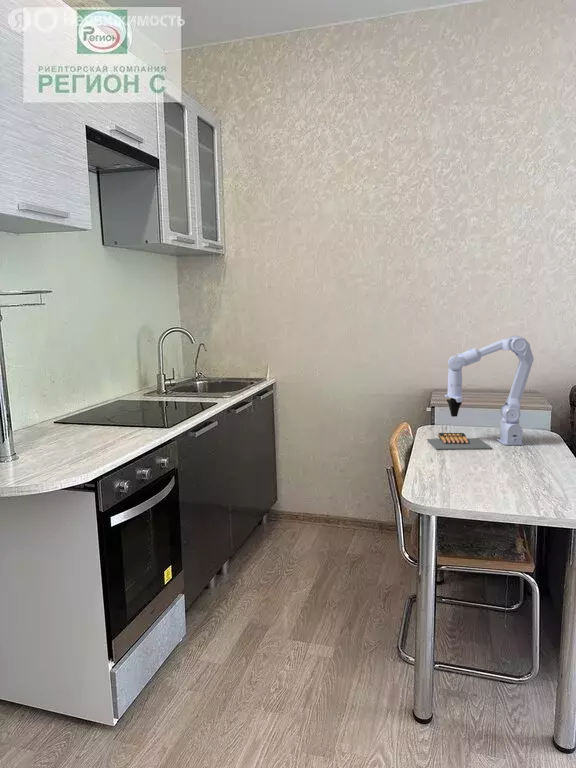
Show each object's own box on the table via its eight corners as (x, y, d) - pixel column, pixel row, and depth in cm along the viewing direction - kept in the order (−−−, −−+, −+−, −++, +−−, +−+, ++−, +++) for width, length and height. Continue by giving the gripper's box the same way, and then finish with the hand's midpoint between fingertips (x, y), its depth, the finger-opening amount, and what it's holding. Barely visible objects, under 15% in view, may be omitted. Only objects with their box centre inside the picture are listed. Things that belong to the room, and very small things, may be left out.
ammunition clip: (464, 432, 230) (470, 440, 219) (463, 437, 231) (470, 445, 219) (438, 432, 232) (443, 440, 220) (438, 437, 232) (443, 445, 220)
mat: (492, 449, 213) (492, 447, 213) (436, 450, 214) (436, 448, 214) (478, 439, 229) (478, 438, 229) (426, 440, 230) (426, 439, 229)
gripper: (440, 382, 233) (440, 413, 235) (450, 387, 219) (449, 419, 220) (456, 382, 233) (456, 412, 235) (467, 386, 218) (466, 419, 220)
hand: (454, 416), depth 228 cm, fingers closed
